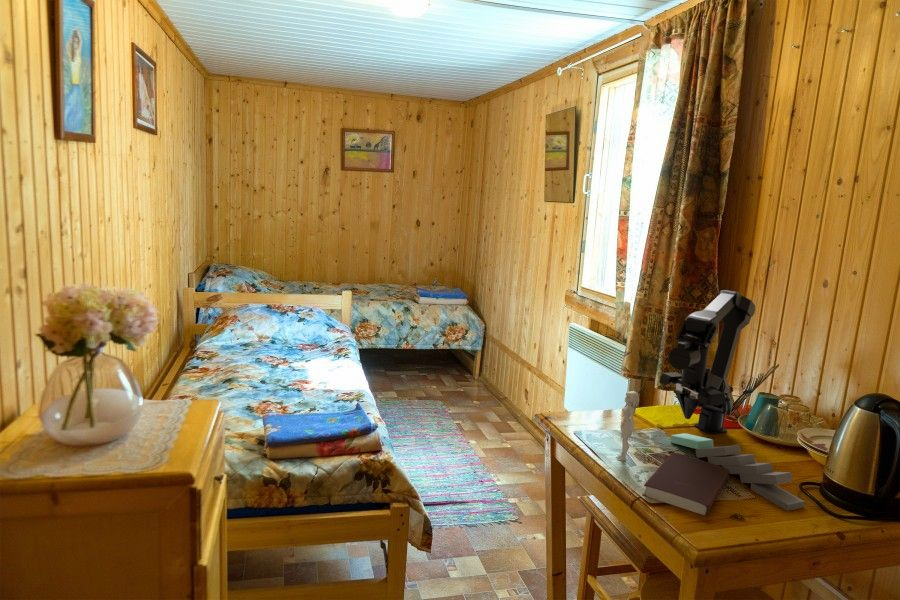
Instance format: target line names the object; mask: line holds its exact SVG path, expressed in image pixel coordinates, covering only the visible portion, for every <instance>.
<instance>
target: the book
mask: <svg viewBox="0 0 900 600" xmlns="http://www.w3.org/2000/svg"><path fill="white" fill-rule="evenodd" d="M729 473H730V471H729V470H728V469H726V468H723V466H721V465H714V464H711V463H708V461H704V460H701V459H700V458H697V457H696V458H695V457H692V456H689V455H685V454H681V453H678V452H673V451H672V452H671V453H670V454H669V455H668V456H667V458H665V460H664V461H663V462H662V463H661V465H660V466H659V467H658V468H657V469H656V470H655V472H654V473H653V474H652V475H651V476H650V477H649V479H648V480H647V481H646V482H645V483H644V485H643V486H644V487H645V490H644V491H643V493H642V494H641V496H643V497H647V498H651V499H654V500H656V501H660V502H662V503H666V504H668V505H672V506H675V507H678V508H680V509H681V508H682V509H685V510H687V511H689V512H690V511H691V512H693V513H695V514H699V515H701V516H703V517H706V516H707V515H708V513H709V512H710V510H711V509H712V506H713V504H714V503H715V501H716V499H717V497H718V496H719V495H720V493H721V491H722V490H723V488H724V486H725V485H726V484H727V482H728V480H729V478H730V474H729Z"/></svg>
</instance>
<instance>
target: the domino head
mask: <svg viewBox="0 0 900 600" xmlns="http://www.w3.org/2000/svg"><path fill="white" fill-rule="evenodd" d="M670 442H671V444H672V443H673V444H675V445H680V446H683V447H688V448H691V449H695V450H699V449H706V448H713V447H714V439H711V438H707V437H703V436H698V435H695V434H691V433H687V432H685V433H684V432H683V433H679V434H678V433H677V434H671V435H670Z"/></svg>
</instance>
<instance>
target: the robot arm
mask: <svg viewBox="0 0 900 600" xmlns="http://www.w3.org/2000/svg"><path fill="white" fill-rule="evenodd" d="M755 312H756V305H755V303H754V302H753V301H752V299H750V298H747V297H745V296H744V295H742V293H740V292H738V291H736V290H735V291H734V290H728V289H727V290H726V289H723V290H722V289H721V290H720V291H719V293H718V295H717V296H716V297H715V299H713V300H712V301H711V302H710V303H708V305H707V306H706V307H705V308H704V309H703V310H697V311H694V312H692V313H690V314H688V316H687V317H686V318H684V321H683V323H682V325H681V327H680V330H679V332H678V334H677V337H676V341H678V343H677V346H676V347H674V348H672V349H671V350H670V352H669V353H668V362H669V364H670V365H671V367H673V368H674V369H676V370H679V371H682V372H681V373H679V372H676V371H674V372H662V374H661V375H660V377H659V383H660V384H662V385H664V386H665V387H666V386H669V385H670V384H671V383H672V384H674V385H675V386H676V387H675V389H673V393H674V394H675V396H676V398H677V400H678V402H679V406H680V408H681V411H682V413H683V417H684V418H685V419H686V420H690V419H692V418H691V417H693V414H694V412H695V411H696V410H697V408H700V412H699V414H698V422H697V423H694V426H695V427H697V428H698V429H700V430H702V431H704V432H706V433H708V434H710V435H712V434H719V433H720V434H721V433H727V432H728V429H726V428H724V424H725V419H726V418H725V417H726V415H731V414H732V409H733V405H734V403H733V401H732V398H731V395H730V392H731V387H730V384H729V380H728V377H729V374H730V369H731V367H732V366H731V365H732V363H733V359H734V355H735V352H736V348H737V344H738V342H739V338H740V334H741V333H742V330H743V329H745V327H746V326H748V325H749V324H750V322H751V320H752V317H753V316H755ZM721 320H722V324H723V326H722V327H723V328H722V329H721V334H720V336H719V340H718V344H717V347H716V350H715V355H714V358H713V361H712V364H711V368H710V367H707V364H708V358H709V353H710V352H709V350H710V346H711V345H712V343H713V341H714V339H715V337H716V335H717V333H718V331H719V330H718V329H719V328H718V324H719V322H721Z"/></svg>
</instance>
